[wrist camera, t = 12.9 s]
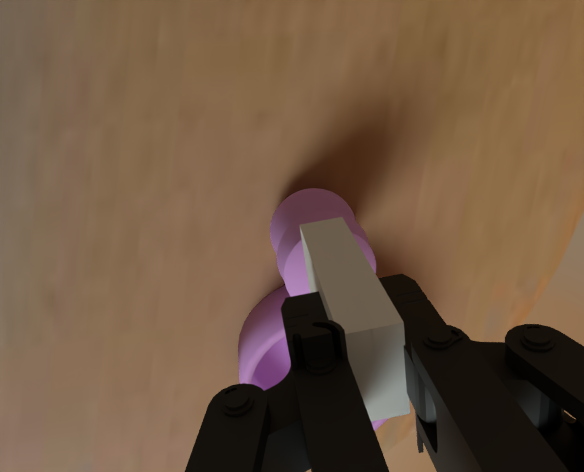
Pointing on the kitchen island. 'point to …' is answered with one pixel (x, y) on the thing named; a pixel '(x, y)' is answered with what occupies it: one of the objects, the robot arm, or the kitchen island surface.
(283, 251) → the container set
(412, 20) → the kitchen island surface
